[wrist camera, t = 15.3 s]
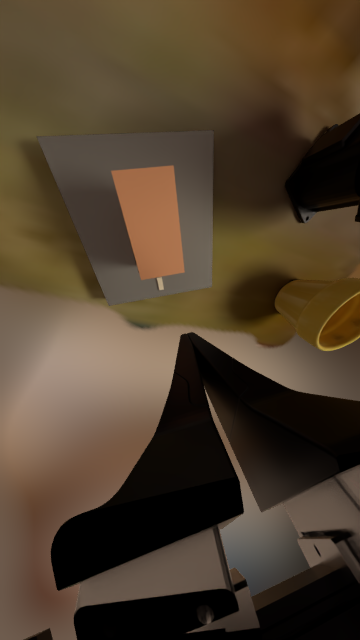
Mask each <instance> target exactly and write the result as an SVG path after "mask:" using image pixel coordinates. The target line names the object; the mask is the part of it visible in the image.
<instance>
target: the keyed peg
mask: <svg viewBox="0 0 360 640" xmlns="http://www.w3.org/2000/svg"><path fill="white" fill-rule="evenodd" d="M111 173H112V176H113V180H114V184H115V187H116V191H117V194H118V198H119V202H120V205H121V209H122V213H123V216H124V220H125V223H126V227H127V231H128V234H129V238H130V242H131V245H132V249H133V252H134V256H135V260H136V263H137V267H138V271H139V274H140V278H141V280H145V279H151V278H156V277H162V276H168V275H173V274H179V273H184V272H185V271H184V261H183V251H182V242H181V232H180V222H179V213H178V203H177V193H176V184H175V174H174V165H172V166H161V167H149V168H138V169H126V170H115V171H111Z"/></svg>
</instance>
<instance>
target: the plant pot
mask: <svg viewBox="0 0 360 640" xmlns="http://www.w3.org/2000/svg"><path fill="white" fill-rule="evenodd" d="M275 308H276V310H277V311H278V312H279V313H280V314H281V315H282V316H283V317H284V318H285V319H286V320H287V321H289V322H290V323H291V324H292V325H293V326H294V327H295V328H296V332H297V334H298V335H299V336H300V337H301V338H303V339H304V340H305V341H307V342H308V343H310V344H311V345H313V346H315V347H316V348H318V349H320V350H322V351H331V350H336V349H339V348H341V347H344V346H346V345H348V344H350V343H352V342H353V341H355V340H356V339H358V338H359V337H360V279H358V278H344V279H340V280H337V281H321V280H294V281H291V282H289V283H288V284H286V285H285V286H284V287H283V288H282V289H281V290H280V291H279V293H278V294H277V296H276V299H275Z"/></svg>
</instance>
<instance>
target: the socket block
mask: <svg viewBox="0 0 360 640" xmlns="http://www.w3.org/2000/svg"><path fill="white" fill-rule="evenodd" d="M37 139H38V141H39V144H40V146H41V148H42V151H43V153H44V155H45V158H46V160H47V162H48V165H49V167H50V169H51V172H52V174H53V176H54V179H55V181H56V183H57V186H58V188H59V190H60V193H61V195H62V197H63V200H64V202H65V204H66V207H67V209H68V211H69V214H70V216H71V218H72V221H73V223H74V225H75V228H76V230H77V232H78V235H79V237H80V239H81V242H82V244H83V246H84V249H85V251H86V253H87V256H88V258H89V261H90V263H91V265H92V268H93V270H94V272H95V275H96V277H97V279H98V282H99V284H100V286H101V289H102V291H103V293H104V296H105V298H106V300H107V303H108V305H109V306H110V305H116V304H121V303H127V302H132V301H138V300H143V299H148V298H154V297H159V296H165V295H170V294H176V293H181V292H187V291H192V290H198V289H203V288H209V287H212V233H213V153H214V130H205V131H177V132H149V133H121V134H93V135H65V136H37ZM172 165H174V174H175V184H176V193H177V203H178V213H179V222H180V232H181V242H182V251H183V261H184V271H185V272H184V273H179V274H173V275H168V276H162V277H156V278H151V279H145V280H141V278H140V274H139V271H138V267H137V263H136V260H135V256H134V252H133V249H132V245H131V242H130V238H129V234H128V231H127V227H126V223H125V220H124V216H123V213H122V209H121V205H120V202H119V198H118V194H117V191H116V187H115V184H114V180H113V176H112V173H111V171H115V170H126V169H138V168H149V167H161V166H172Z"/></svg>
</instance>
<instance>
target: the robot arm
mask: <svg viewBox="0 0 360 640" xmlns="http://www.w3.org/2000/svg"><path fill="white" fill-rule="evenodd" d="M290 182H291V185H290ZM285 186H286V189H287V191H288V194H289V196H290V198H291V200H292V202H293V205H294V207H295V209H296V211H297V213H298V216H299V218H300V220H301V222H302V223H307V222H308V221H309V220H310V219H311V218H312V217H313V216H314V215H315V214H316V213H317V212H320V211H326V210H332V209H338V208H344V207H350V206H356V205H358V211H357V215H356V216H355V221H356V222H360V114H358V115H356V116H355V117H353V118H351V119H350V120H348V121H346V122H345V123H343V124H341V125H339V126H338V124H335V125H333V126H332V127H330V128H329V129H328V130H327V132H326V133H325V134H324V135H323V136H321V137H320V138H319V139H318V141H317V142H316V143H315V144H314V146H313V147H312V148H311V149H310V151H309V152H308V153H307V154H306V156H305V157H304V158H303V159H302V161H301V164H300V165H299V166H298V168H297V169H296V170H295V171H294V173H293V174H292V175H291V176H290V178H289V179H288V180H287V182H286V185H285ZM204 387H205V389H204ZM205 390H206V392H207V394H208V396H209V398H210V400H211V403H212V405H213V407H214V409H215V412H216V414H217V416H218V418H219V420H220V422H221V425H222V427H223V429H224V431H225V433H226V436H227V438H228V440H229V442H230V445H231V447H232V449H233V451H234V454H235V456H236V458H237V460H238V462H239V465H240V467H241V469H242V471H243V473H244V475H245V478H246V480H247V482H248V484H249V487H250V489H251V491H252V493H253V495H254V498H255V500H256V502H257V504H258V506H259V508H260V511H261V512H263V511H266V510H268V509H271V508H273V507H276V506H278V505H280V504H283V505H284V507H285V509H286V511H287V512H288V514H289V516H290V518H291V520H292V522H293V524H294V526H295V528H296V530H297V532H298V534H299V536H300V538H298V539H297V540H298V543H299V545H300V547H301V549H302V551H303V553H304V555H305V557H306V559H307V561H308V563H309V565H310V567H311V568H309V569H307V570H305V571H303V572H301V573H299V574H297V575H295V576H293V577H291V578H289V579H287V580H285V581H283V582H281V583H279V584H277V585H275V586H273V587H271V588H269V589H266V590H264V591H262V592H260V593H259V594H256V595H254V596H252V597H251V595H250V591H249V588H248V585H247V582H246V579H245V578H244V577H243V576H242V575H241V574H240V573H239V571H238V570H237V569H236V568H233V569H231V570H229V566H228V562H227V558H226V554H225V550H224V546H223V542H222V538H221V534H220V529H223V528H224V527H225V526H227V525H228V524H229V523H231V522H232V521H233V520H235V519H236V518H237V517H239V516H240V515H241V514H243V512H244V509H243V502H242V496H241V489H240V481H239V479H238V476H237V474H236V472H235V470H234V467H233V465H232V463H231V460H230V458H229V456H228V453H227V451H226V449H225V446H224V444H223V442H222V439H221V437H220V435H219V433H218V430H217V428H216V426H215V423H214V421H213V418H212V415H211V411H210V408H209V404H208V400H207V396H206V393H205ZM51 562H52V567H53V572H54V577H55V581H56V587H57V590H58V591H59V590H62V589H65V588H68V587H71V586H74V585H77V584H79V583H80V588H79V593H78V598H77V603H76V608H75V613H74V626H75V631H76V636H77V640H360V401H353V400H347V399H341V398H334V397H328V396H322V395H315V394H309V393H302V392H298V391H294V390H291V389H289V388H287V387H285V386H282V385H281V384H279V383H277V382H275V381H273V380H271V379H269V378H267V377H265V376H264V375H262V374H259V373H258V372H256V371H254V370H252V369H250V368H249V367H247V366H245V365H244V364H242V363H240V362H238V361H237V360H236V359H234V358H232V357H231V356H229V355H228V354H226V353H224V352H223V351H221V350H220V349H218V348H217V347H215V346H214V345H212V344H211V343H209V342H207V341H206V340H204V339H203V338H201V337H200V336H198V335H197V334H195V333H193V332H191V333H187V334H182V335H181V337H180V342H179V347H178V353H177V358H176V364H175V369H174V374H173V379H172V384H171V388H170V391H169V395H168V398H167V401H166V404H165V407H164V410H163V413H162V416H161V419H160V422H159V424H158V427H157V429H156V432H155V434H154V436H153V438H152V440H151V441H150V443H149V444H148V446H147V448H146V449H145V451H144V453H143V454H142V455H141V457H140V459H139V460H138V462H137V464H136V465H135V466H134V468H133V470H132V471H131V473H130V474H129V476H128V478H127V479H126V481H125V482H124V484H123V485H122V486H121V488H120V489H119V491H118V492H117V493H116V494H115V495H114V496H113V497H112V498H111V499H110V500H109V501H107V502H106V503H105V504H103V505H102V506H100V507H98V508H96V509H93V510H90V511H87V512H84V513H82V514H79V515H77V516H75V517H73V518H71V519H69V520H67V521H66V522H65V523H64V524H63V525H62V526H61V527H60V528H59V530H58V532H57V533H56V535H55V537H54V541H53V543H52V548H51ZM24 640H53V639H52V635H51V631H50V628H49V629H47V630H44V631H42V632H40V633H37V634H35V635H33V636H30V637H28V638H26V639H24Z"/></svg>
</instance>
